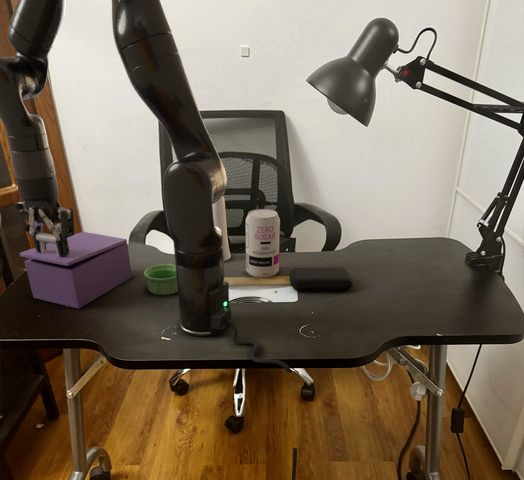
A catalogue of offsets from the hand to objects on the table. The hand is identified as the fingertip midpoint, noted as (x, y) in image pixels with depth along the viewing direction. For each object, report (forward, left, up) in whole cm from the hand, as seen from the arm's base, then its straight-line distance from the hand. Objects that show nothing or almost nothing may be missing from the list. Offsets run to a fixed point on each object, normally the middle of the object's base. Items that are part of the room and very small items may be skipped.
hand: (53, 253), depth 111 cm
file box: (0, -7, -11) cm, 13 cm away
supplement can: (-35, -33, -11) cm, 49 cm away
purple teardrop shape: (0, -7, -10) cm, 12 cm away
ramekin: (-18, -14, -11) cm, 25 cm away
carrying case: (-50, -32, -11) cm, 61 cm away
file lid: (0, -7, -1) cm, 7 cm away
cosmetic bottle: (-20, -37, -11) cm, 44 cm away
